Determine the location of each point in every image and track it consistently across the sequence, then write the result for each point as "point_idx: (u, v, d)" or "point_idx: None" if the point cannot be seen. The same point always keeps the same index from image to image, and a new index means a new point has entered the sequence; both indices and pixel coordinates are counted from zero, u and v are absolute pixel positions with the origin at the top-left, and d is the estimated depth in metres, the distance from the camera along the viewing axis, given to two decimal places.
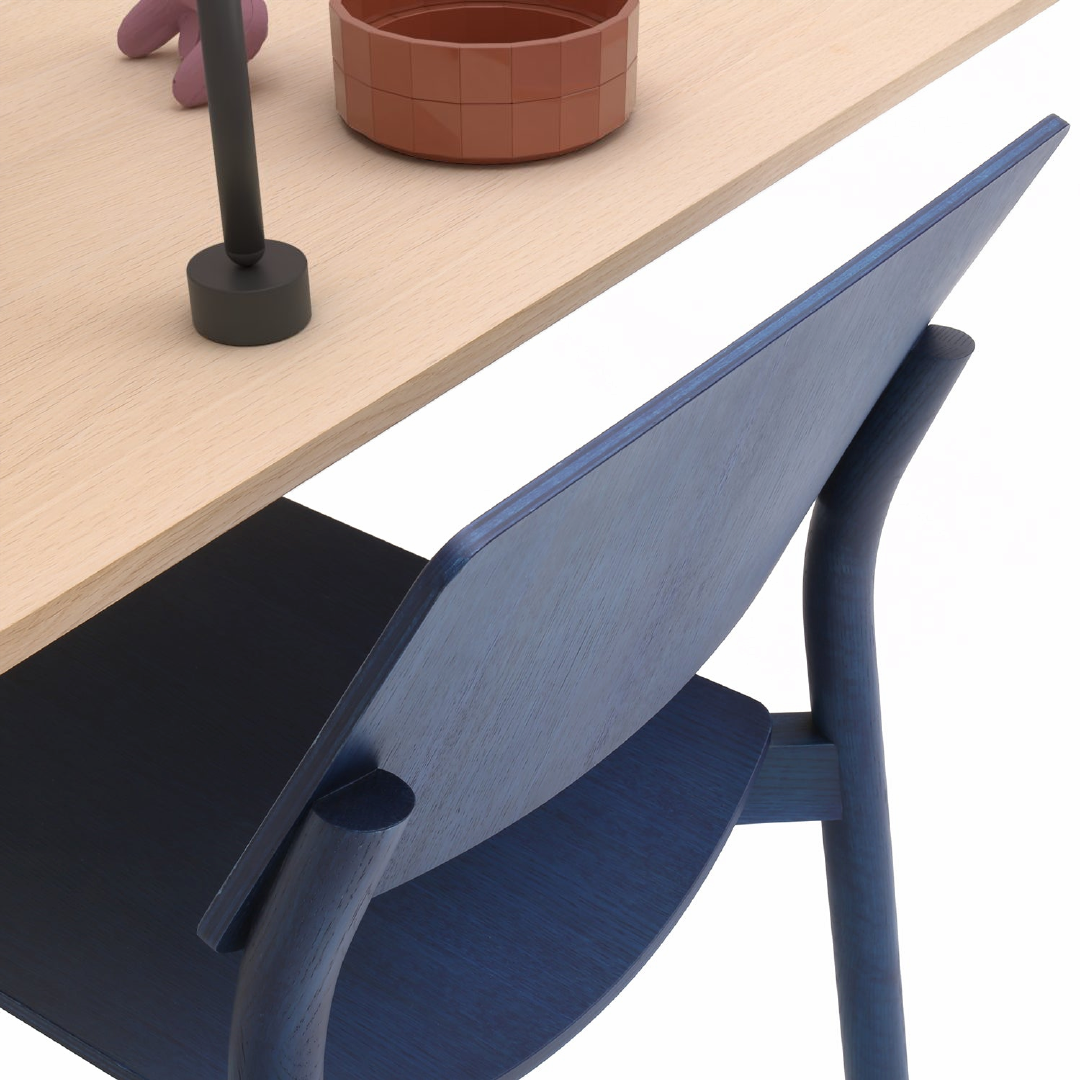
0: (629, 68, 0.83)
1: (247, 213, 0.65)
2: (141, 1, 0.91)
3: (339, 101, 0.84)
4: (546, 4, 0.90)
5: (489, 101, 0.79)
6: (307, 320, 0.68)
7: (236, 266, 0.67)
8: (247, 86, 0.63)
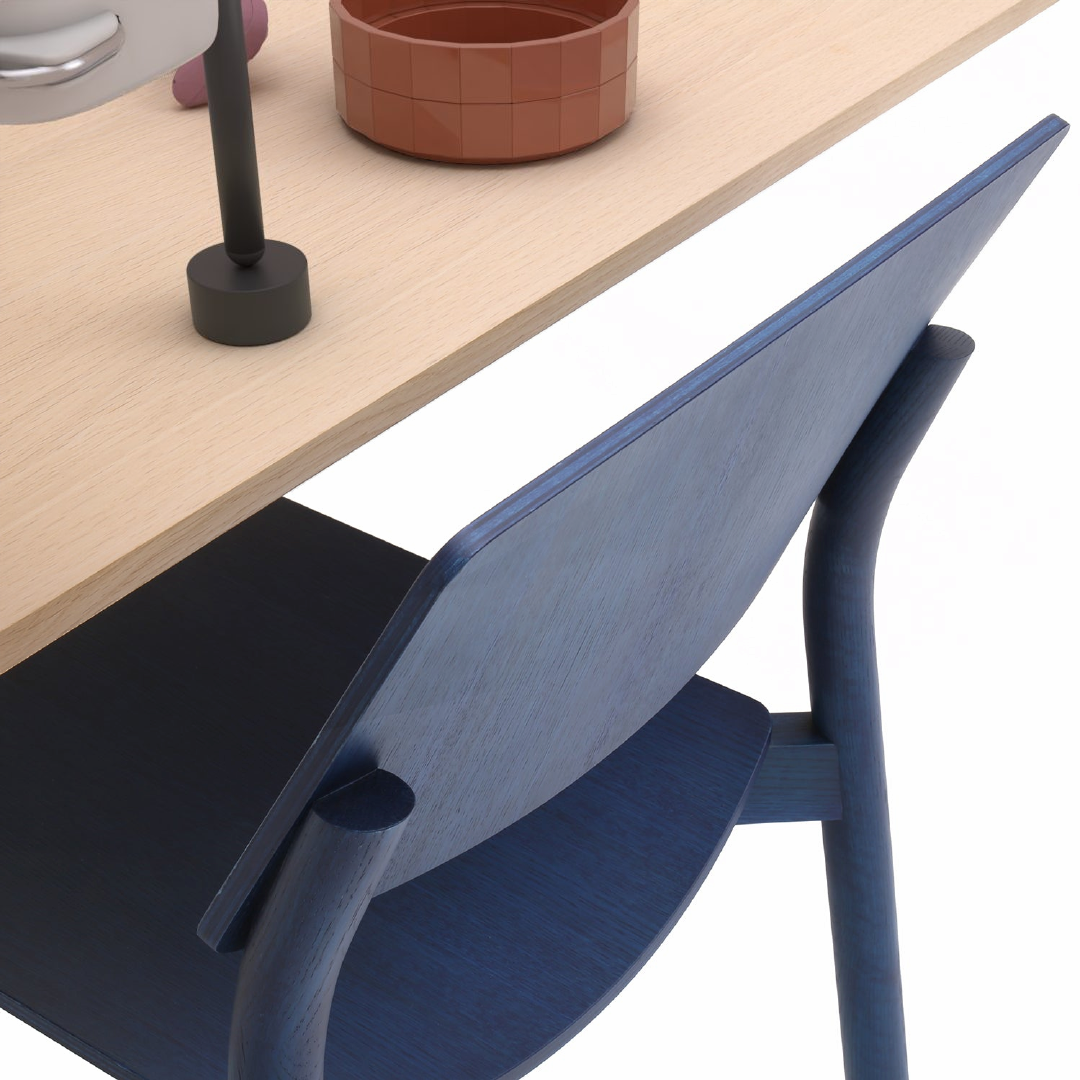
0: (629, 68, 0.83)
1: (247, 213, 0.65)
2: None
3: (339, 101, 0.84)
4: (546, 4, 0.90)
5: (489, 101, 0.79)
6: (307, 320, 0.68)
7: (236, 266, 0.67)
8: (247, 86, 0.63)
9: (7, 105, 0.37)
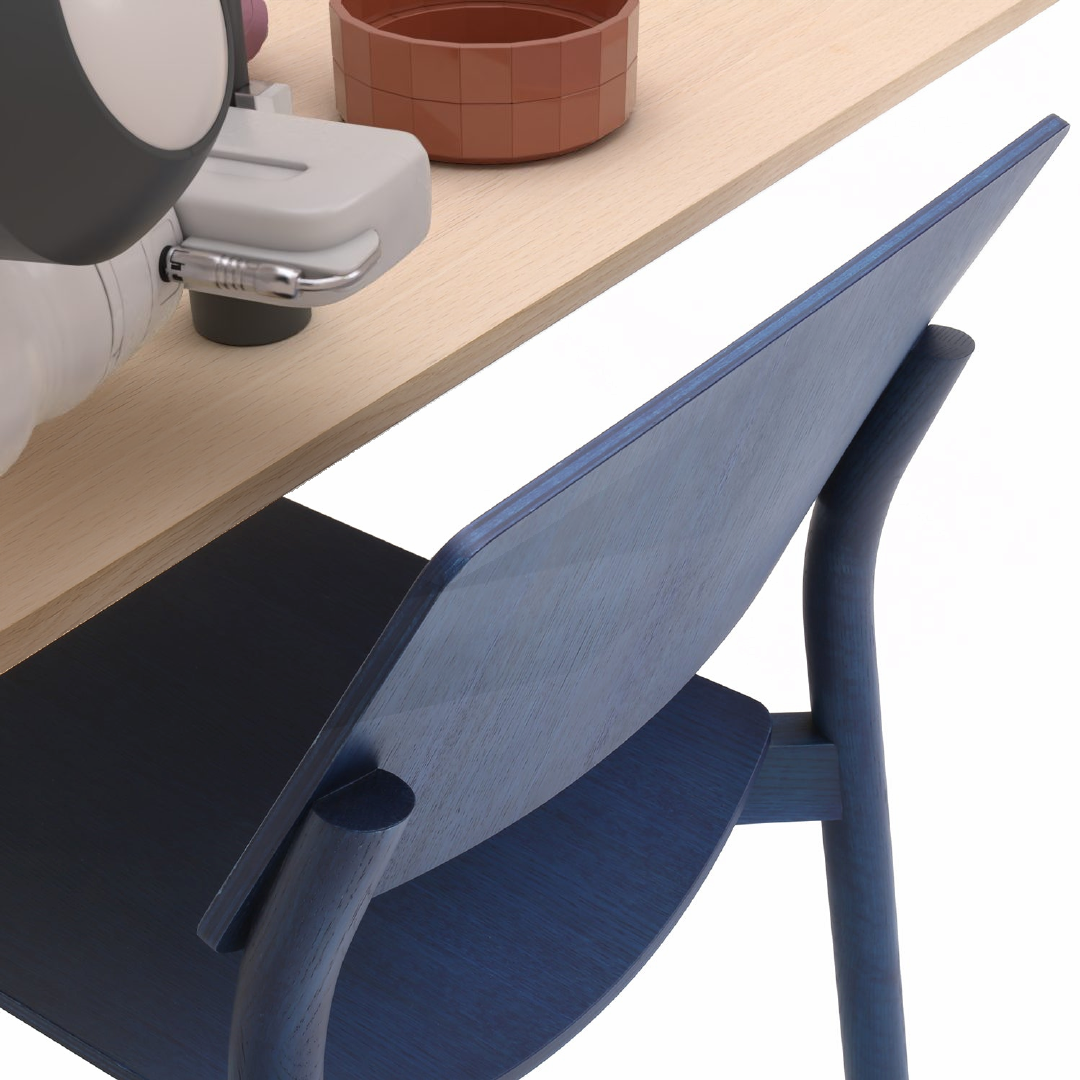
0: (629, 68, 0.83)
1: None
2: None
3: (339, 101, 0.84)
4: (546, 4, 0.90)
5: (489, 101, 0.79)
6: (307, 320, 0.68)
7: None
8: None
9: (303, 295, 0.53)
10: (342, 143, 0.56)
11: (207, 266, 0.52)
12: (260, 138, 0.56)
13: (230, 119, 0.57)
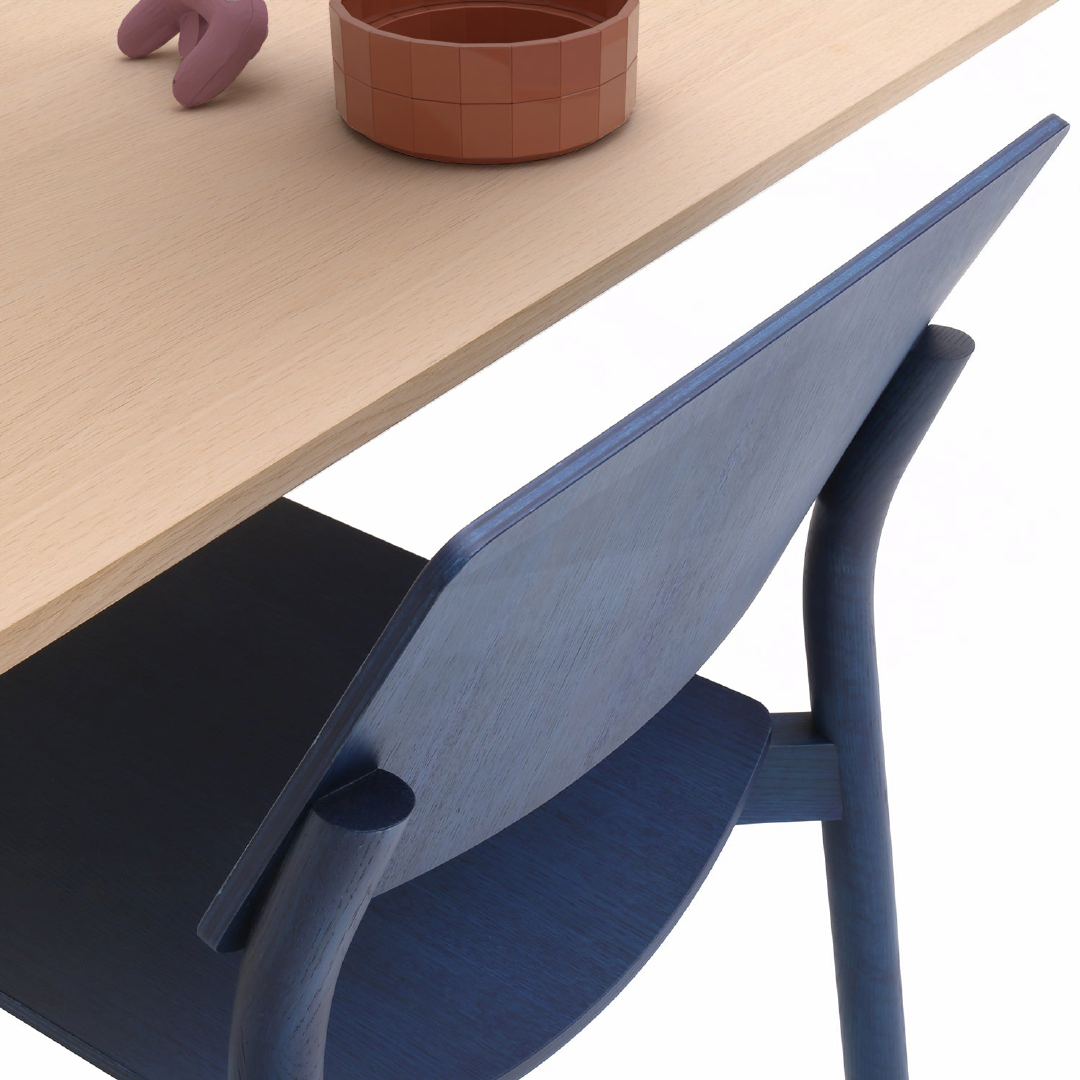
0: (629, 68, 0.83)
1: None
2: (142, 1, 0.91)
3: (339, 101, 0.84)
4: (546, 4, 0.90)
5: (489, 101, 0.79)
6: None
7: None
8: None
9: None
10: None
11: None
12: None
13: None
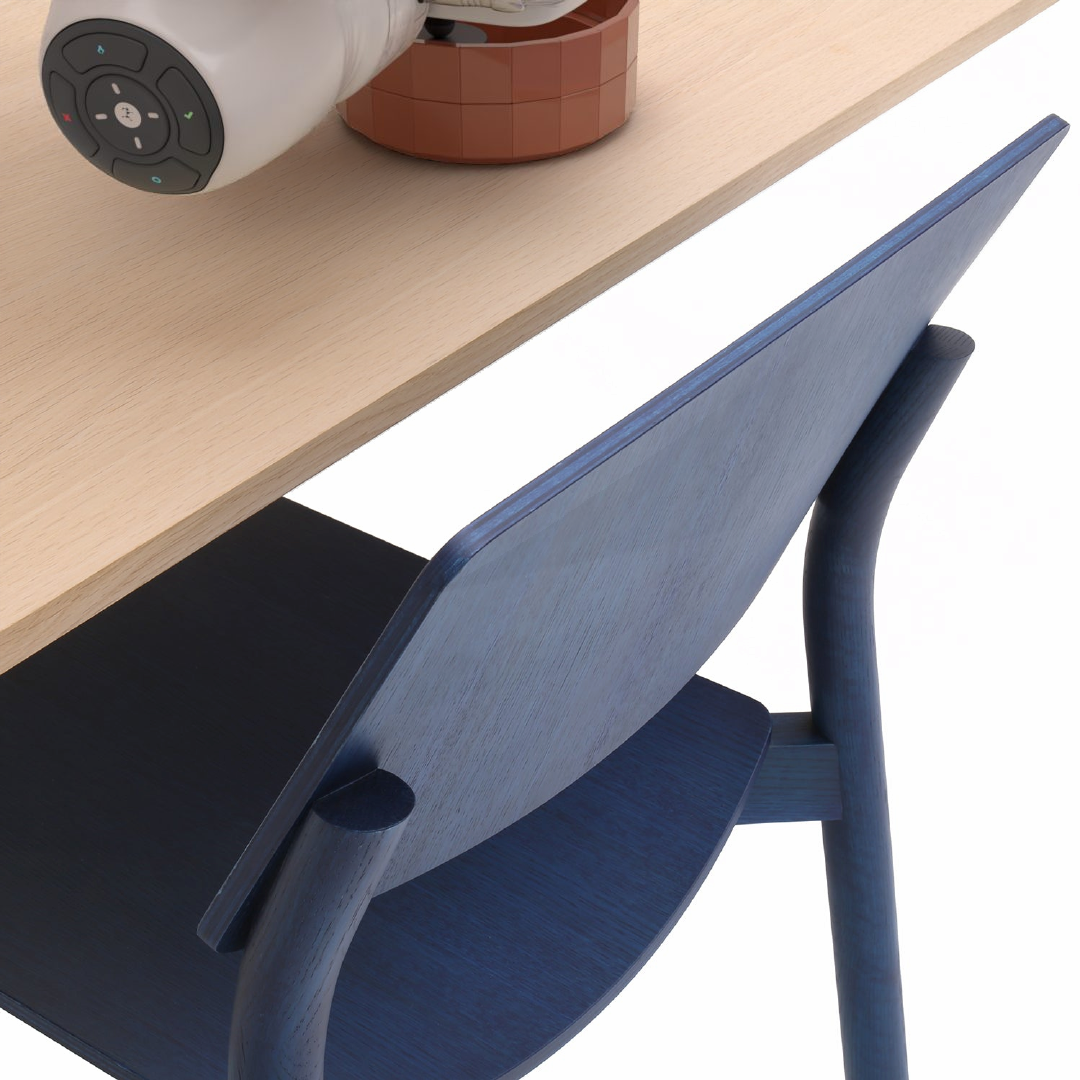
0: (629, 68, 0.83)
1: None
2: None
3: None
4: None
5: (489, 101, 0.79)
6: None
7: (431, 38, 0.84)
8: None
9: (520, 15, 0.71)
10: None
11: None
12: None
13: None
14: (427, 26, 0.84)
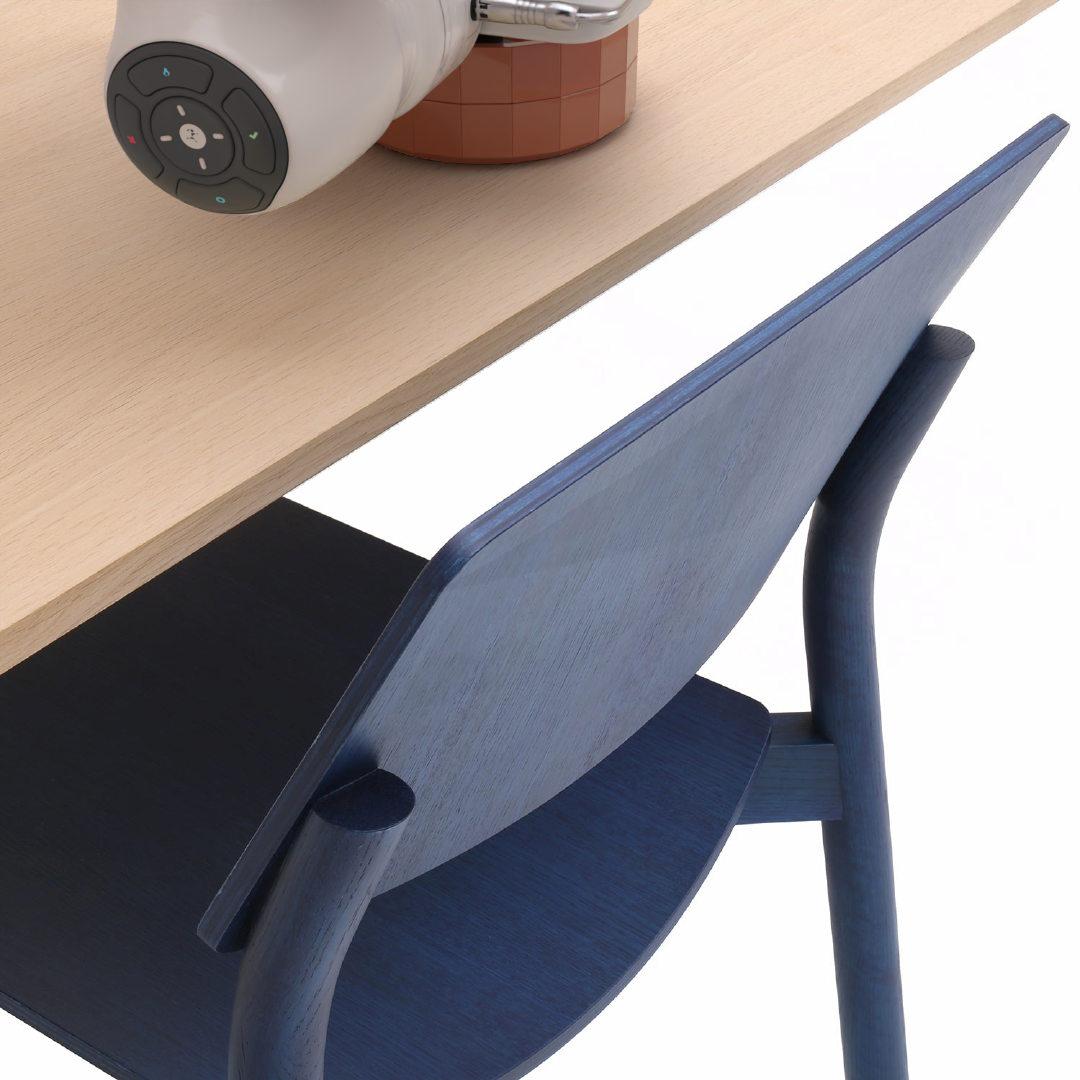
0: (629, 68, 0.83)
1: None
2: None
3: None
4: None
5: (489, 101, 0.79)
6: None
7: None
8: None
9: (573, 32, 0.71)
10: None
11: (508, 5, 0.70)
12: None
13: None
14: None
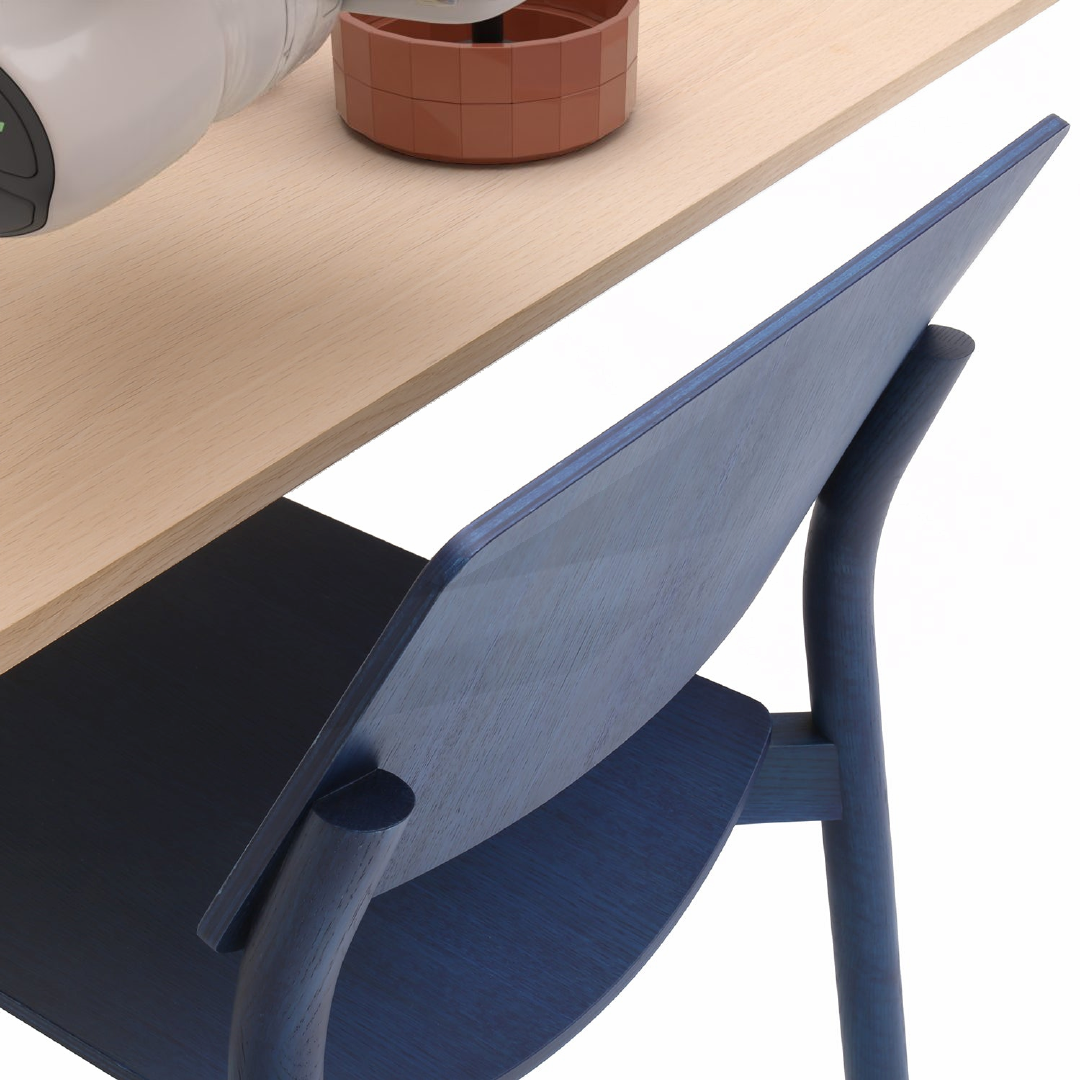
0: (629, 68, 0.83)
1: None
2: None
3: (339, 101, 0.84)
4: (546, 4, 0.90)
5: (489, 101, 0.79)
6: None
7: None
8: None
9: (454, 10, 0.58)
10: None
11: None
12: None
13: None
14: None
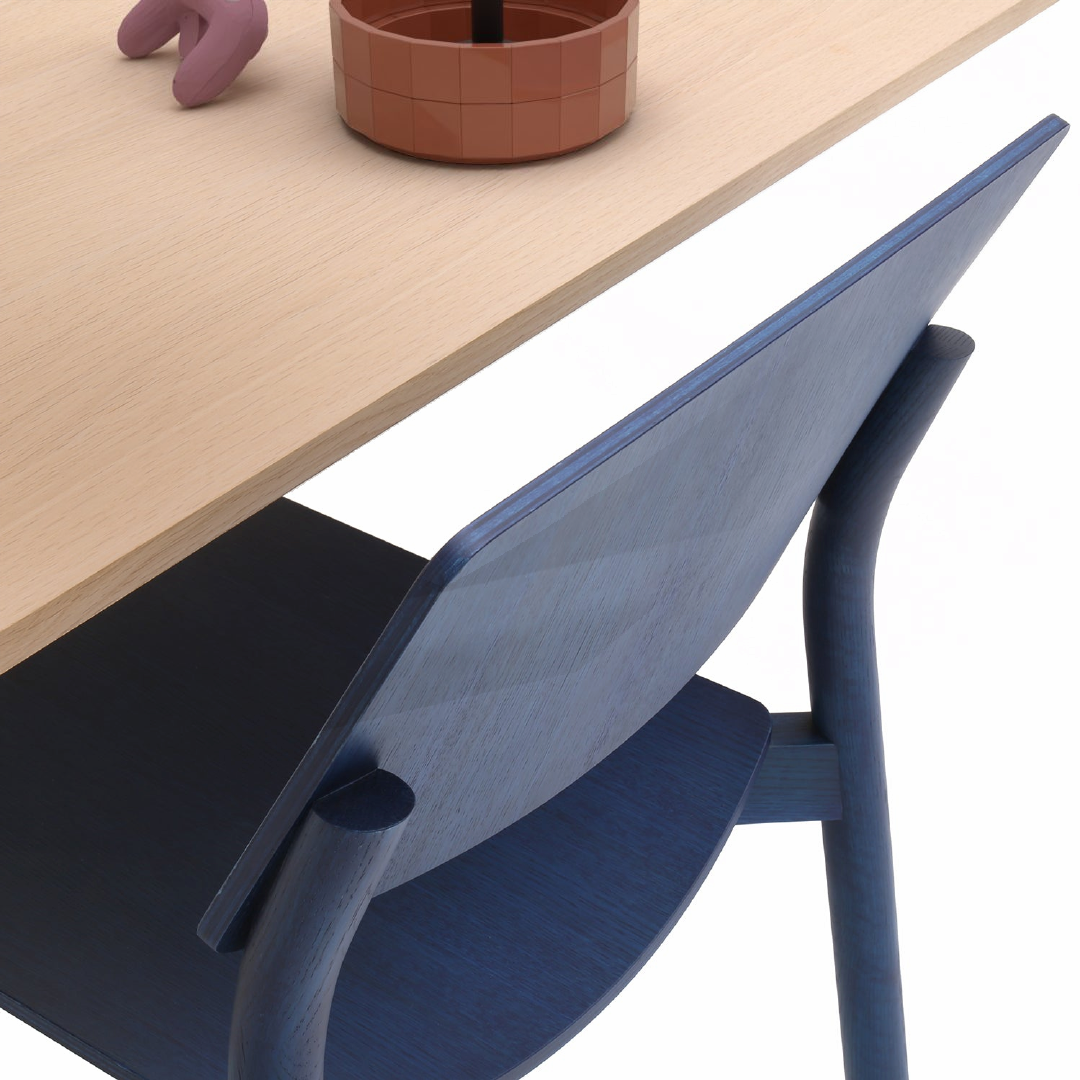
0: (629, 68, 0.83)
1: (494, 9, 0.83)
2: (142, 1, 0.91)
3: (339, 101, 0.84)
4: (546, 4, 0.90)
5: (489, 101, 0.79)
6: None
7: None
8: None
9: None
10: None
11: None
12: None
13: None
14: None
